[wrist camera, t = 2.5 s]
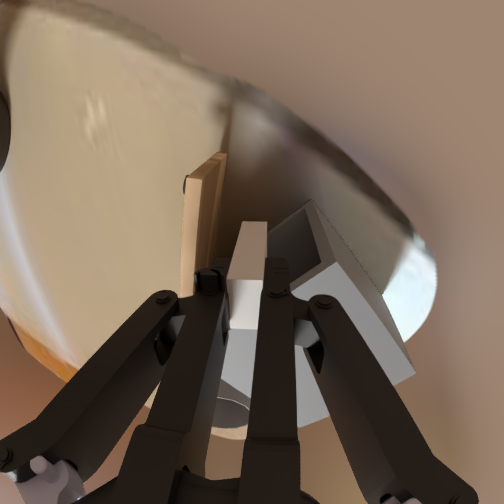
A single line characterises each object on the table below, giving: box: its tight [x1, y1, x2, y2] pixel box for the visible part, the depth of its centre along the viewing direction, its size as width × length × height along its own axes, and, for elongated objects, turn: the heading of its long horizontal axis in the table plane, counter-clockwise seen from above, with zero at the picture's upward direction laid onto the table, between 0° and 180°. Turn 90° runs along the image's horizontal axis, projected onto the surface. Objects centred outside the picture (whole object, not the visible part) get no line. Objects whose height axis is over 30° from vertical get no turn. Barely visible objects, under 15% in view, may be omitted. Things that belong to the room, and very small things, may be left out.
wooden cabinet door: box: [180, 152, 228, 298], centre depth 25 cm, size 2×14×11 cm, turn 171°
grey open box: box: [221, 199, 416, 427], centre depth 29 cm, size 16×14×13 cm
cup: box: [212, 379, 251, 429], centre depth 37 cm, size 8×8×10 cm
